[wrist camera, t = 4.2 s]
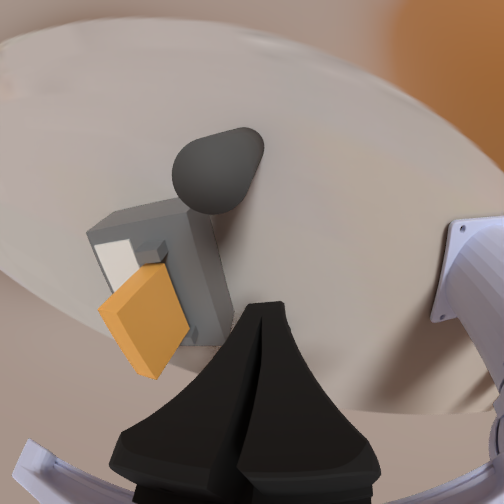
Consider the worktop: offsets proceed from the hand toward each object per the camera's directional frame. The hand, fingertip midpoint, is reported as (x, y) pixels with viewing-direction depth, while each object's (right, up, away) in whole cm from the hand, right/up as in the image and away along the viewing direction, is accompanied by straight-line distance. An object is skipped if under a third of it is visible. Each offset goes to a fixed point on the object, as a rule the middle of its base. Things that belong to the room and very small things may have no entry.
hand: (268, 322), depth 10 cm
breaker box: (-5, +2, +6) cm, 8 cm away
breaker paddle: (-5, +1, +3) cm, 6 cm away
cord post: (-1, +8, +2) cm, 8 cm away
